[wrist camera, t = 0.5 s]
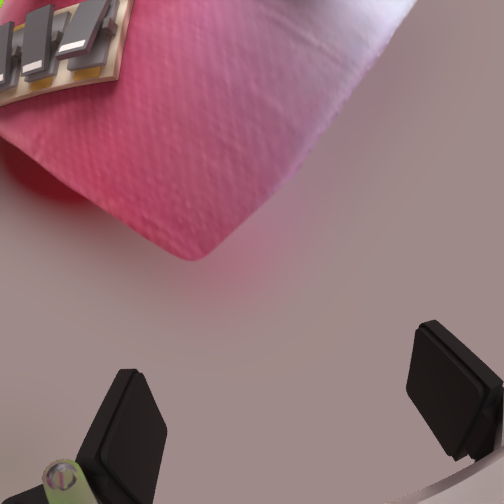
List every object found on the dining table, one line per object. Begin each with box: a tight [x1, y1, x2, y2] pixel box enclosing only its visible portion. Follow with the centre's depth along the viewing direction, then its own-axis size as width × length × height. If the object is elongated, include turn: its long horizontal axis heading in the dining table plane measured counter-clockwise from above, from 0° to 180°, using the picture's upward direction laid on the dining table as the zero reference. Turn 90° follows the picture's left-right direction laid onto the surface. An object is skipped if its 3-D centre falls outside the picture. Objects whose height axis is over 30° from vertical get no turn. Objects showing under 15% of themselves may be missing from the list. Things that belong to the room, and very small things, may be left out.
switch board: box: [0, 0, 134, 106], centre depth 26 cm, size 14×24×5 cm, turn 87°
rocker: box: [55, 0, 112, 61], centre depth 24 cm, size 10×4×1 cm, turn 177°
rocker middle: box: [21, 4, 55, 77], centre depth 24 cm, size 10×4×1 cm, turn 177°
